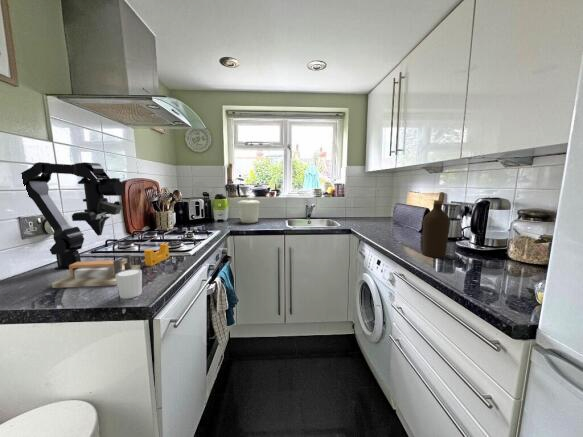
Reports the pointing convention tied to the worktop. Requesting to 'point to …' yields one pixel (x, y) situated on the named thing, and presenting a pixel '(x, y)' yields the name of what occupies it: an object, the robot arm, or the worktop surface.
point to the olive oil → (435, 232)
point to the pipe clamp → (156, 255)
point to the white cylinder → (129, 283)
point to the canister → (248, 210)
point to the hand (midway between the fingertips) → (99, 235)
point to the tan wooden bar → (93, 264)
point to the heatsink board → (88, 281)
